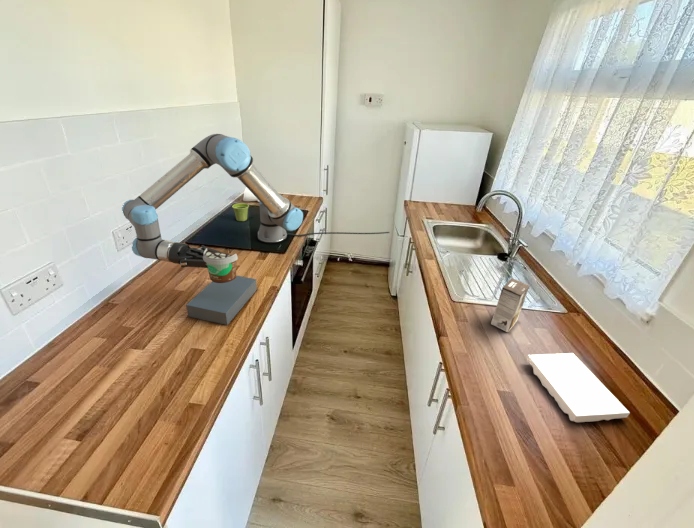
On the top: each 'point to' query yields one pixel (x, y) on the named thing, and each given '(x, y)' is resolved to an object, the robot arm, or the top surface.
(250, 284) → the grey rectangular block
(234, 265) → the food container
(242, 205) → the plant pot
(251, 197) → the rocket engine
